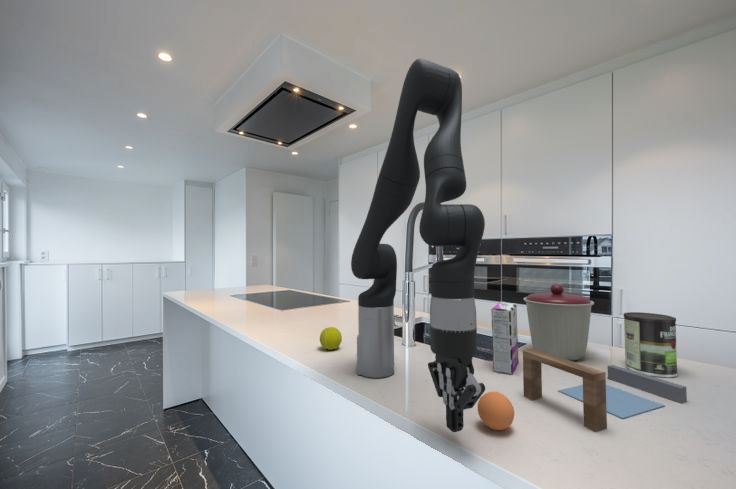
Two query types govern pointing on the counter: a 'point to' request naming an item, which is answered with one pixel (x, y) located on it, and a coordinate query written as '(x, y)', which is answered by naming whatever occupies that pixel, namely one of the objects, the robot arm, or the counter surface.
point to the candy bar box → (505, 337)
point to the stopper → (648, 383)
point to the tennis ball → (330, 338)
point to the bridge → (591, 377)
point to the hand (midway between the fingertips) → (454, 429)
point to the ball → (496, 410)
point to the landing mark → (618, 401)
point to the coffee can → (650, 344)
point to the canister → (559, 322)
